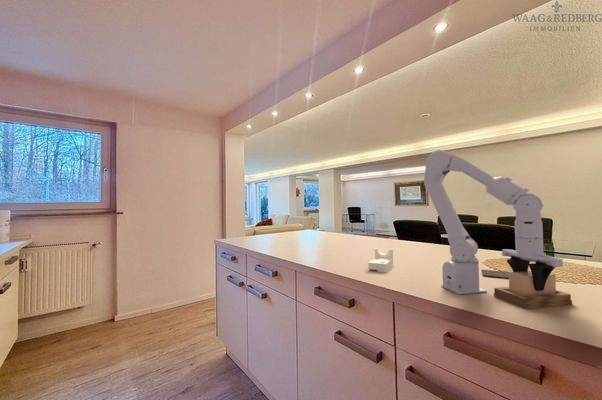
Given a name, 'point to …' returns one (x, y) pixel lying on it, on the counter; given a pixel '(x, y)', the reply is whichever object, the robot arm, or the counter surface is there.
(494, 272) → the chocolate bar
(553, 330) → the counter surface
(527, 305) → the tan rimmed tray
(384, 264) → the bracket
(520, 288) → the clay block
